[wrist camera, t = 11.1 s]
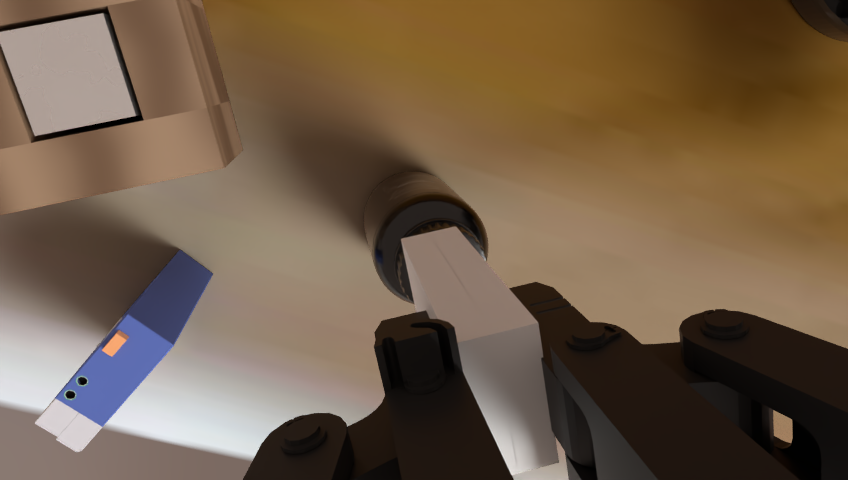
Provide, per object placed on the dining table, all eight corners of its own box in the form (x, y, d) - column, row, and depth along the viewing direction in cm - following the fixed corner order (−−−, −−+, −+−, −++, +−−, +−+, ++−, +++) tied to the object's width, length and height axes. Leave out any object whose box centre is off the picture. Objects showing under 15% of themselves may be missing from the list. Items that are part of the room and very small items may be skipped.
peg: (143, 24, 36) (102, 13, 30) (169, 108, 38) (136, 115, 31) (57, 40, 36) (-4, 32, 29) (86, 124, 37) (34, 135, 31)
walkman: (179, 248, 41) (124, 316, 30) (213, 273, 42) (172, 348, 31) (106, 332, 42) (25, 430, 31) (141, 355, 43) (75, 459, 31)
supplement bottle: (349, 247, 43) (358, 311, 32) (381, 155, 42) (403, 187, 30) (439, 275, 45) (478, 345, 33) (473, 188, 43) (526, 229, 32)
